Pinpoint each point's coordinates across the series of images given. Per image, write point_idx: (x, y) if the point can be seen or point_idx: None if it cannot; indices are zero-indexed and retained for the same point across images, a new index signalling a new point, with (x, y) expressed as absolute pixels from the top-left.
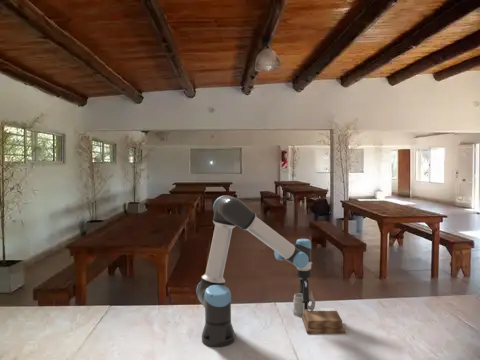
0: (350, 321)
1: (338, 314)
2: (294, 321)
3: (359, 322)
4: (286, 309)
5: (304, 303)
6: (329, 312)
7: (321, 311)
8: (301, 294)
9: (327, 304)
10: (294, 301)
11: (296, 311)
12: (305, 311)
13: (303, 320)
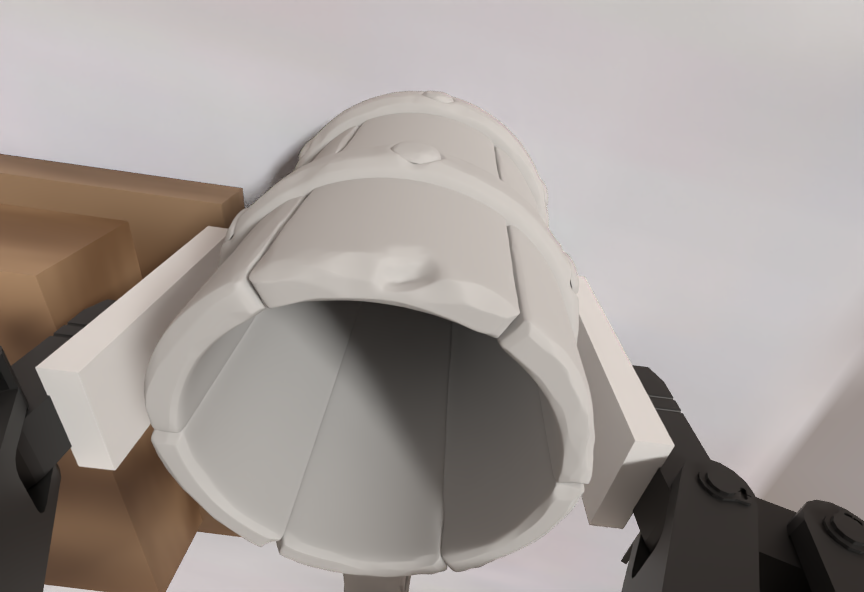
0: (209, 557)
1: (47, 583)
2: (90, 23)
3: (198, 589)
4: (681, 5)
5: (47, 380)
6: (82, 540)
7: (92, 484)
8: (516, 504)
9: (622, 542)
10: (318, 176)
11: (317, 147)
12: (8, 284)
13: (11, 173)
